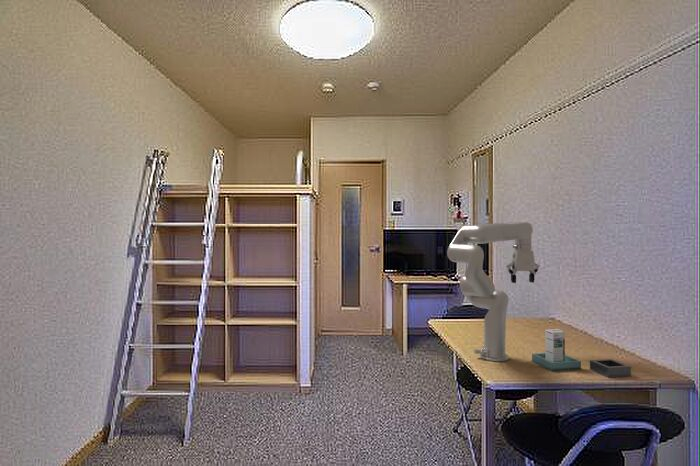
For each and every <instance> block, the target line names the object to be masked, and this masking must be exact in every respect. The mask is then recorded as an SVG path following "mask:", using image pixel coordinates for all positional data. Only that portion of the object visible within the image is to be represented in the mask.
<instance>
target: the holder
mask: <svg viewBox="0 0 700 466" xmlns="http://www.w3.org/2000/svg"><path fill="white" fill-rule="evenodd" d="M589 370H590V371H592V372H595V373H597V374H599V375H601V376H603V377H606V378H609V379H610V378H623V377H625V378H628V377H631V376H632V374H631V372H632V367H631V366H630V365H628V364H626V363H622V362H620V361H618V360H616V359H615V360H614V359H612V358H606V359H604V358H603V359H590V360H589Z"/></svg>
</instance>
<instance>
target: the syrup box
mask: <svg viewBox="0 0 700 466" xmlns="http://www.w3.org/2000/svg"><path fill="white" fill-rule="evenodd" d="M544 334H545V352H544V353H546V360H548V361H551V362H564V361H565V355H566V354H565V353H566V349H565V348H566V347H565V346H566V341H565V339H566V332H565V331H564V330H562V329H559V328H555V329H554V328H552V329H550V328H549V329H545V333H544Z"/></svg>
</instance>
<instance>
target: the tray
mask: <svg viewBox="0 0 700 466" xmlns="http://www.w3.org/2000/svg"><path fill="white" fill-rule="evenodd" d="M531 362H533V363H534V364H537V365H538V366H540V367H542V368H544V369H546V370H548V371H551V372H562V371H564V372H565V371H577V370H578V371H580V370H581V369H582V368H581V367H582V362H581V360H579V359H577V358H575V357H572V356H570V355H567V354H565V361H564V362H551V361H548V360H546V353H545V352H540V353H539V352H538V353H531Z"/></svg>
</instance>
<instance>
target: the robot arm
mask: <svg viewBox="0 0 700 466" xmlns="http://www.w3.org/2000/svg"><path fill="white" fill-rule="evenodd" d="M533 232H534V229H533V226H532V223H530V222H527V221H507V222H494V223H487V224H486V223H485V224H466V225H463V226H462V227H461V228H460V229H459V230H458V232H457V233H456V235H455V236H454V237H453V239H452V241H451V243H450V244H449V246H448V248H447V251H446V254H447V259H449V261H451V262H453V263H460V264H467V266H466V270H465V271H464V275H463V276H462V277H461V278H460V281H459V289H460V292H461V294H462V295H463V296H464V297H465V298H466V299H467V300H468V301H469V302H470V304H471V305H473V306H474V307H476V308H480V309H485V310H488V311H487V312H486V314H485V316H484V319H483V346H481V348H480V349H473V353H474V354H475V355H476V354H477V355H478V354H479V355H480V358H481V359H482V360H486V361H491V362H506V361H508V360H509V359H510V356H509V355H508V354H506V341H507V340H506V335H507V334H506V333H507V332H506V330H507V329H506V328H507V320H506V319H507V311H508V305H509V296H508V293H506V292H505V291H503V290H501V289H496V286H495V284H494V282H493V281H492V279H491V278H490V277H489V276H488V275H487V274H486V272H485V271H484V269H483V268H484V267H483V264H484V258H485V253H484V252H485V251H484V250H483V248H482V247H481V246H480V245H481V244H482V245H483V244H484V245H485V244H490V243H491V244H492V243H496V242H506V241H507V242H508V241H513V240H514V245H512V248H513V249H514V250H513V253H512V258H511V262H510V263H507V265H506V266H505V268H506V270H507V272H508V273H509V274H510V281H511V283H513V284H516V283H517V275H516V274H517V272H529V275H528V281H529V283H535V276H536V273H537V272H538V271H539V269H540V265H539V264H537V263H536V261H535V254H534V250H532V234H533ZM479 244H480V245H479Z"/></svg>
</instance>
